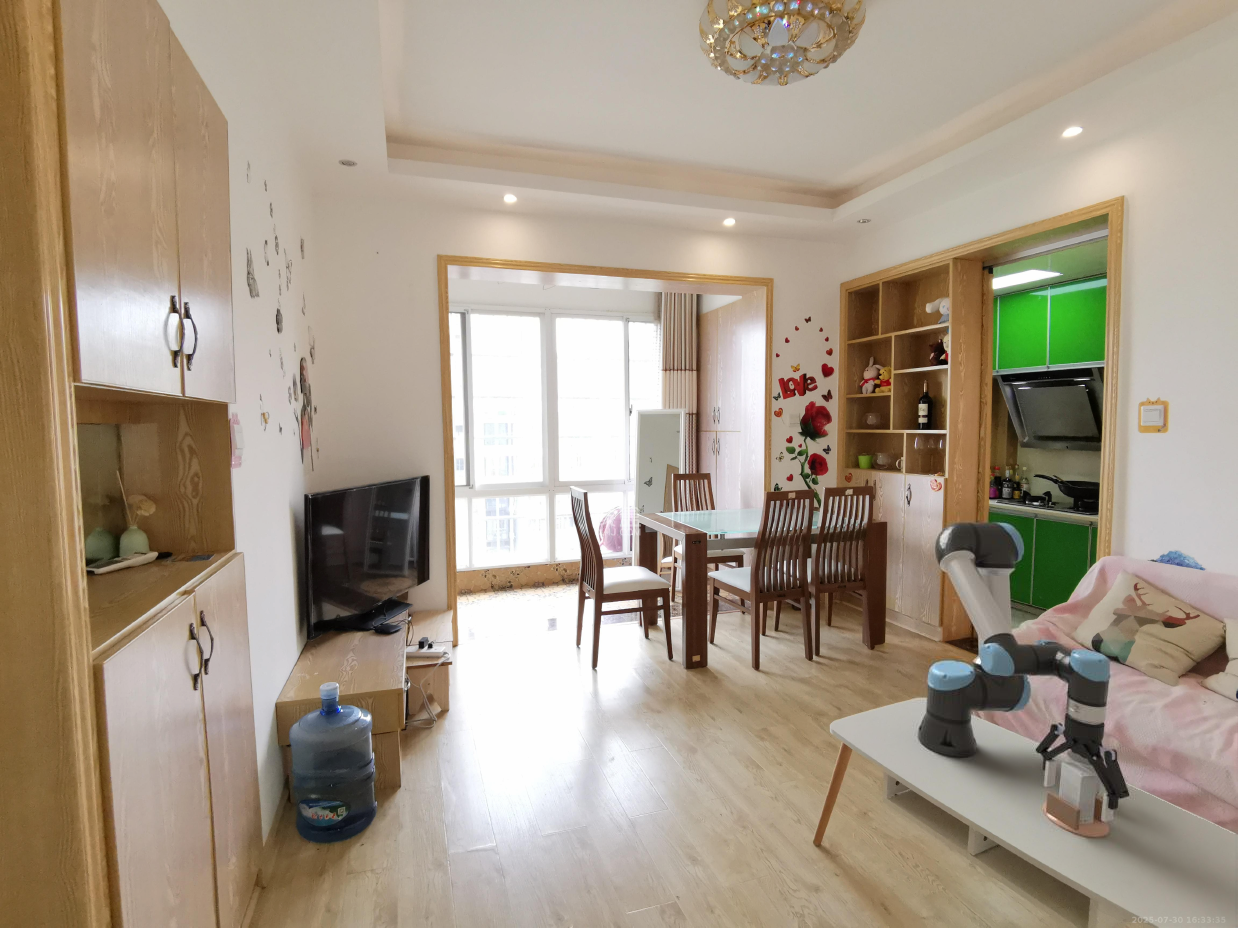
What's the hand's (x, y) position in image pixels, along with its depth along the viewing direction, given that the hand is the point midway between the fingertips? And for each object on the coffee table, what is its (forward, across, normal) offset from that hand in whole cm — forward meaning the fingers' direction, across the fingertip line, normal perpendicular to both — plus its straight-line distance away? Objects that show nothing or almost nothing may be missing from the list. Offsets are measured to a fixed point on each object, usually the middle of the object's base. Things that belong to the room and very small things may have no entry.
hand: (1076, 801), depth 151 cm
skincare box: (+4, 0, 0) cm, 4 cm away
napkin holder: (+4, 0, 0) cm, 4 cm away
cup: (+4, -6, +11) cm, 13 cm away
